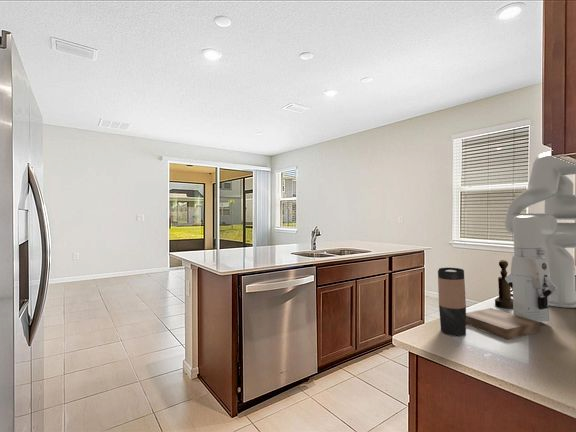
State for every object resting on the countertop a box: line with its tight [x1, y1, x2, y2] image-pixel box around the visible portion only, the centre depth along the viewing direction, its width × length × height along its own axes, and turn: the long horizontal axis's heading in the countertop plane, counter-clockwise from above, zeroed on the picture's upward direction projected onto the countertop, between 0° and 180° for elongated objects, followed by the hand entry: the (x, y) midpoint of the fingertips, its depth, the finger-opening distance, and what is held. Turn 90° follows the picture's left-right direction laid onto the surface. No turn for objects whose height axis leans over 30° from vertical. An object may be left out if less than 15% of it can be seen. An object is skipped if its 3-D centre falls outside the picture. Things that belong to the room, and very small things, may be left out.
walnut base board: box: [466, 307, 540, 340], centre depth 103 cm, size 14×16×3 cm
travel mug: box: [437, 267, 467, 337], centre depth 101 cm, size 8×8×20 cm
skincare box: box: [512, 275, 550, 323], centre depth 105 cm, size 8×6×15 cm
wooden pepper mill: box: [494, 259, 513, 309], centre depth 123 cm, size 7×6×18 cm
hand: (530, 305), depth 105 cm, fingers closed on skincare box, 6 cm apart
